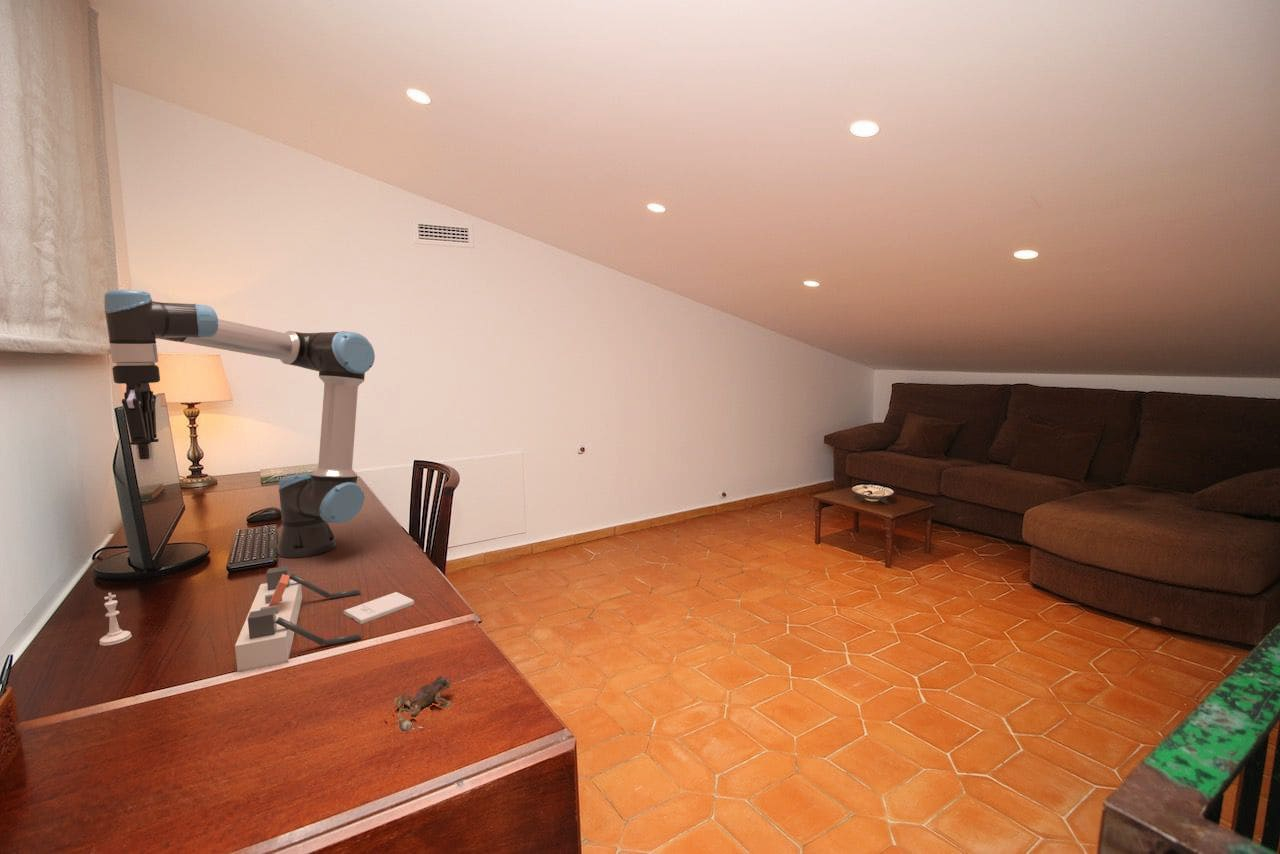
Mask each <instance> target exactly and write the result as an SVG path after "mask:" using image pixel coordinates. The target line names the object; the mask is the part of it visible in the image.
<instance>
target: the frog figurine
mask: <svg viewBox="0 0 1280 854" xmlns="http://www.w3.org/2000/svg"><path fill="white" fill-rule="evenodd" d="M451 680H452V679H450V678H449V677H444V678H443V676H442V675H441V676H438V677H436V680H433V681H432V682H431V683H428V684H426V683H425V684H424V685H421V687H419V689H418V690H417V691H416V693H415V695H414V697H413V696H412V695H411V694H410V693H407V694H405V692H403V693H402V694H401V695H399V696H398V695H395V698H394V704H393V705H394V706H396V707H398V708H400V709H399V710H398V712H397V714H398V717H399V720H398V721H399V725H398V727H399V728H400V729H401V730H402V731H409V730H411V729H413V730H414V729H415V728H413V726H414V725H413V726H412V723H411V722H410V721H409V720H407V719H406V718H404V717H402V716H401V714H402V713H403V712H406V713H408V714H410V715H411V717H416V716H417V715H418V714H419V713H422V710H423V709H424V708H426V707H429V706H430V705H432V702H434V703H440V705H439V707H443V708H446V707H449V706H450V707H452V703H451V702H452V701H451V700H447V699H446V698H443V697H441V695H442V693H443V692H444V691H446V690H449V689H450V687H451ZM403 705H405V706H406V707H404V708H403V707H402V706H403ZM401 707H402V708H401ZM408 708H410V709H408ZM418 728H423V727H421V726H419V727H418Z"/></svg>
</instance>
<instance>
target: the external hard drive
mask: <svg viewBox="0 0 1280 854" xmlns="http://www.w3.org/2000/svg"><path fill="white" fill-rule="evenodd" d="M414 605H415V600H414V599H412V598H411V597H408V596H406V595H403V594H401V593H400V592H397V591H395V592H393V593H392V592H391V593H389V594H386V595H383V596H381V597H378V598H374V599H372V600H370V601H366V602H363V603H361V604H359V605H356V606H352V607H350V608H347V609H344V610H343V615H345V616H346V617H349V618H351V619H353V620H354V621H355V622H357V623H359V624H360V625H363V624H365V623H368V622H371V621H373V620H377V619H378V618H381V617H384V616H387V615H389V614H392V613H395V612H398V611H400V610H402V609H406V608H409V607H411V606H414Z"/></svg>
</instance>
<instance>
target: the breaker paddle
mask: <svg viewBox="0 0 1280 854" xmlns="http://www.w3.org/2000/svg"><path fill="white" fill-rule="evenodd" d="M289 577H290V575H289V576H288V575H284V574H282V576H281V578H280V580H279V583H278V585H277V587H276V589H275V592H274V594H273V596H272V598H271V600H270V603H269V606H273V605H278V604H279V602H280V600H281V597H282V595H283V593H284V591H285V589H286V586H287V584H288V581H289Z"/></svg>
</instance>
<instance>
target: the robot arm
mask: <svg viewBox="0 0 1280 854" xmlns="http://www.w3.org/2000/svg"><path fill="white" fill-rule="evenodd" d="M103 304H104V314H105V320H106V325H107V334H108V340H109V341H108V343H109V347H110V348H107V349H106V352H107V353H108V354H110V358H111V359H110V360H111V362H112V363H113V364H115V365H114V366H113V367H112V368H111V369H112V376H113V382H114V383H116V384H118V385H119V384H125V386H126V387H125V392H124V398H122V399H121V404H122V406H123V410H124V412H125V418H126V421H127V425H128V426H127V427H128V431H129V435H130V442H129V443H130V446H131V445H132V446H135V448H136V459H137V466H138V467H137V468H138V475H149V474H156V473H157V472H158V467H157V459H156V451H155V443H158V442H159V438H157V436H158V435H157V421H156V420H157V417H156V401H157V396H156V395H154V391H152V390H151V385H150V384H153V383H155V384H156V383H160V381H161V376H160V375H161V373H160V367H159V366H158V364H157V365H156V363H158V362H159V355H158V354H159V353H158V348H157V347H158V346H157V340H164V341H171V342H178V343H182V344H183V343H185V344H189V345H193V346H195V345H196V346H202V347H206V348H212V349H218V350H224V351H230V352H236V353H240V354H248V355H253V356H259V357H263V358H269V359H276V360H280V362H281V363H282V364H284V365H290V366H294V367H299V368H303V369H306V370H307V369H308V370H311V371H315V372H318V378H319V379H320V380H321V381H322V382H323V384H324V386H323V400H322V411H321V412H322V413H321V424H320V425H321V426H320V440H319V450H318V451H319V452H318V453H319V454H318V464H317V465H318V467H317V469H315V470H314V471H309V472H308V471H307V472H301V473H296V474H295V473H294V474H290V475H285V476H283V477H281V478H280V479H279V481H278V492H279V493H278V494H279V503H280V513H281V524H282V527H281V531H280V535H279V538H278V539H279V540H278V543H277V547H276V548H277V555H278V554H279V555H278V556H279V557H283V558H304V557H312V556H316V555H319V554H323V553H326V552H329V551H331V550H333V549H334V548H335V547H336V546H337V544H336V543H337V542H336V536H335V535H334V532H333V529H332V528H331V526H330V524H334V523H337V524H343V523H346V522H349V521H351V520H353V519H354V518H355V517H356V516H357V515H358V514H359V513H361V510H362V508H363V506H364V503H365V492H364V490H363V489H362V488H361V486H360V485H359V484H358V473H356V471H354V469H353V461H354V447H355V434H356V433H355V432H356V422H357V420H356V419H357V408H358V407H357V404H358V393H359V390H358V389H359V386H360V385H361V384H362V383H364V382H365V375H366V373H367V372H368V371H369V370H370V369H371V368H372V367H373V365H374V363H375V357H376V356H375V351H374V347H373V345H372V343H371V342H370V341H369V340H368V339H367V337H366V336H364V335H363V334H360V333H358V332H356V331H355V332H354V331H344V330H342V331H332V332H331V331H329V332H328V331H327V332H323V331H322V332H299V331H293V330H288V331H286V332H281V331H277V330H271V329H267V328H262V327H259V326H258V327H257V326H252V325H248V324H244V323H243V324H242V323H239V322H234V321H228V320H225V319H219V318H218V315H217V312H216V310H215V309H214V308H213V307H212V306H210V305H206V304H197V303H177V302H176V303H175V302H160V301H153V299H152V295H151V294H150V292H148V291H145V290H135V289H110V290H107V291H106V292H105V294H104V303H103ZM329 523H330V524H329Z"/></svg>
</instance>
